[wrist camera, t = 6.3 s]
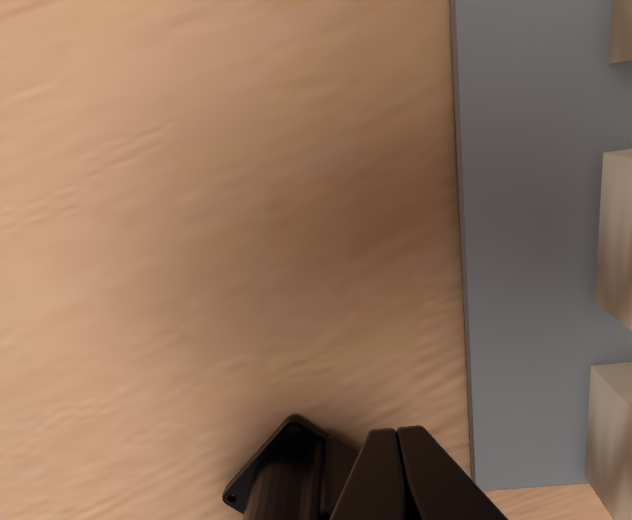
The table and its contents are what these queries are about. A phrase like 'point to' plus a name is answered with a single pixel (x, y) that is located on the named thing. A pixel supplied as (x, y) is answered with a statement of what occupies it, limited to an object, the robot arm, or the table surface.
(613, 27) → the two-pip block
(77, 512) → the table surface
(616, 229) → the plain block
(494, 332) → the grey mat
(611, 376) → the one-pip block
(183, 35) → the table surface
